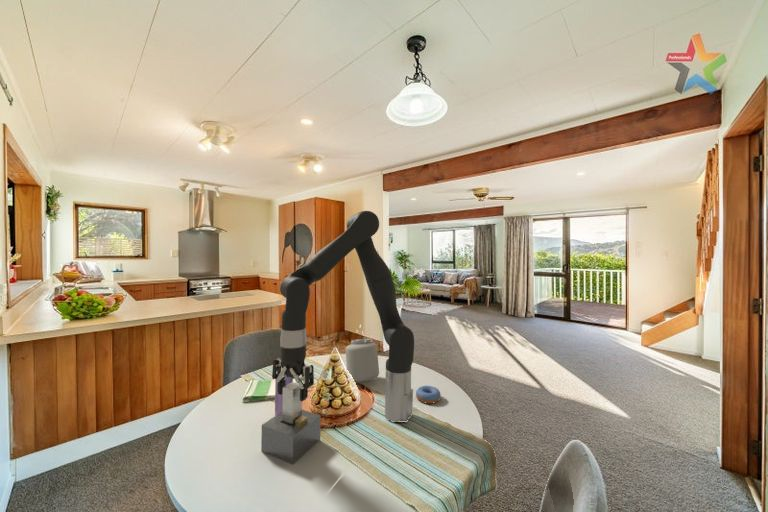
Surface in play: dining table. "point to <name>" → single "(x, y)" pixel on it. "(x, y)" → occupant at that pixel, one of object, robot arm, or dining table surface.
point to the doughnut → (428, 394)
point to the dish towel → (261, 390)
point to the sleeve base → (290, 436)
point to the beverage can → (280, 396)
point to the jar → (362, 360)
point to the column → (291, 404)
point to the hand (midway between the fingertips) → (292, 396)
